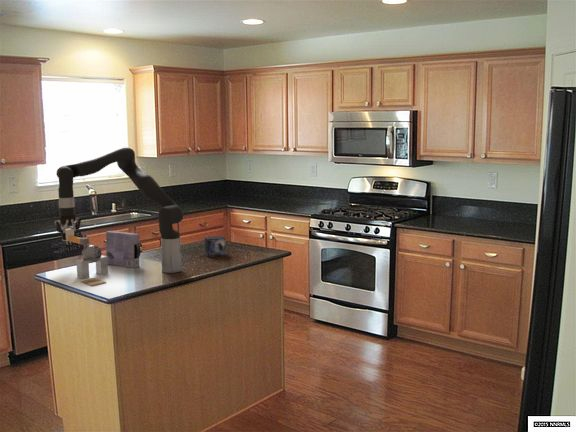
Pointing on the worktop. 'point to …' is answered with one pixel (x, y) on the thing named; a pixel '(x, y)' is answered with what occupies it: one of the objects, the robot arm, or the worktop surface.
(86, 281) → the trivet
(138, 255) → the cake pan box
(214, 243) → the small box
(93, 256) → the housing
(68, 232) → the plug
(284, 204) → the worktop surface
